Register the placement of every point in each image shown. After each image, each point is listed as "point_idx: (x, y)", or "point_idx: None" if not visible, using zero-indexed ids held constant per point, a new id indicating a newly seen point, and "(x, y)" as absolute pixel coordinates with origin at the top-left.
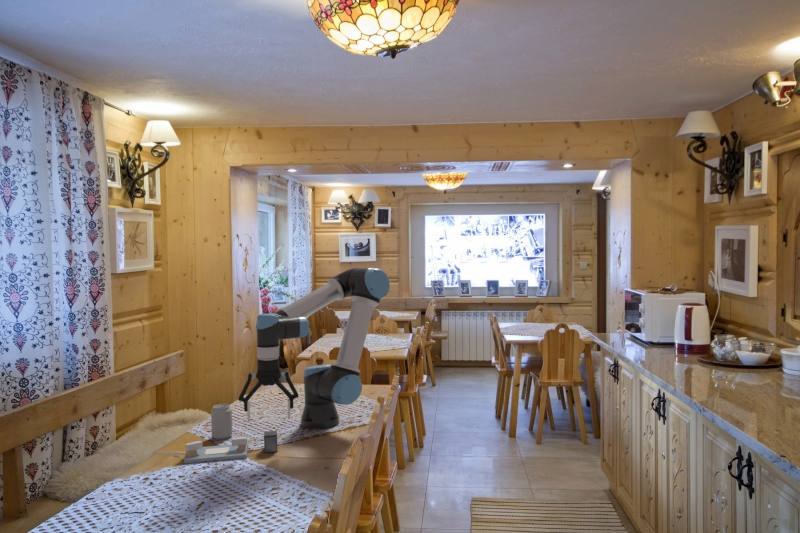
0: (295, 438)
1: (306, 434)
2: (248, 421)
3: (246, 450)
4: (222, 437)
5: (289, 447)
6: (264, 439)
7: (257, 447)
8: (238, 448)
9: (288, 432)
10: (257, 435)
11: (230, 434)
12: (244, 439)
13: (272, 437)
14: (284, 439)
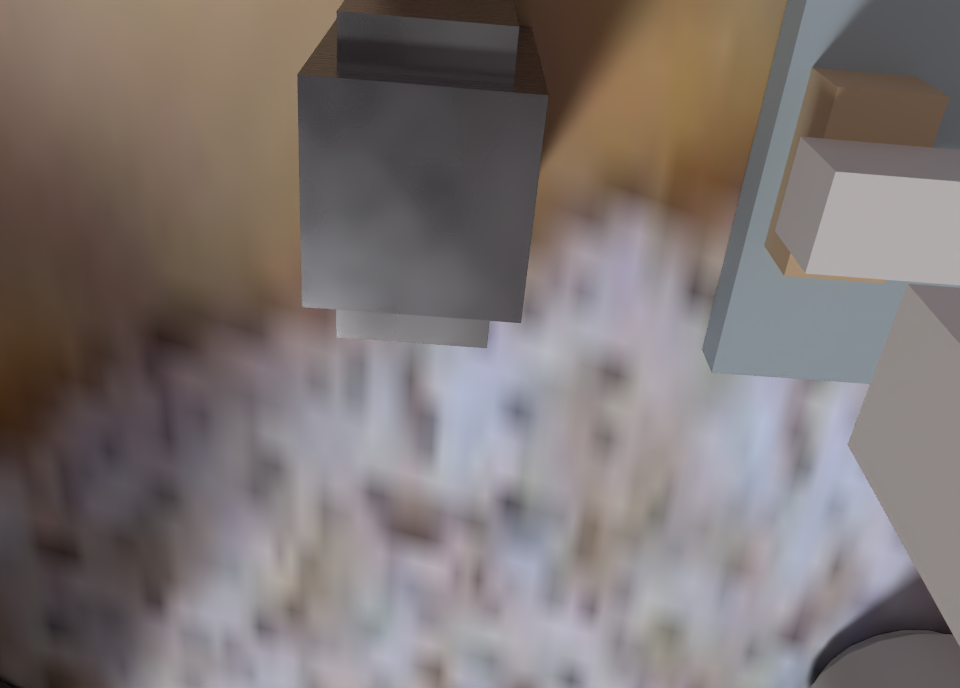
0: (122, 444)
1: (2, 528)
2: (942, 289)
3: (792, 84)
4: (930, 637)
5: (173, 142)
6: (536, 76)
7: (596, 283)
8: (930, 86)
9: (218, 634)
10: (547, 641)
11: (838, 677)
12: (869, 168)
13: (390, 30)
14: (254, 451)
